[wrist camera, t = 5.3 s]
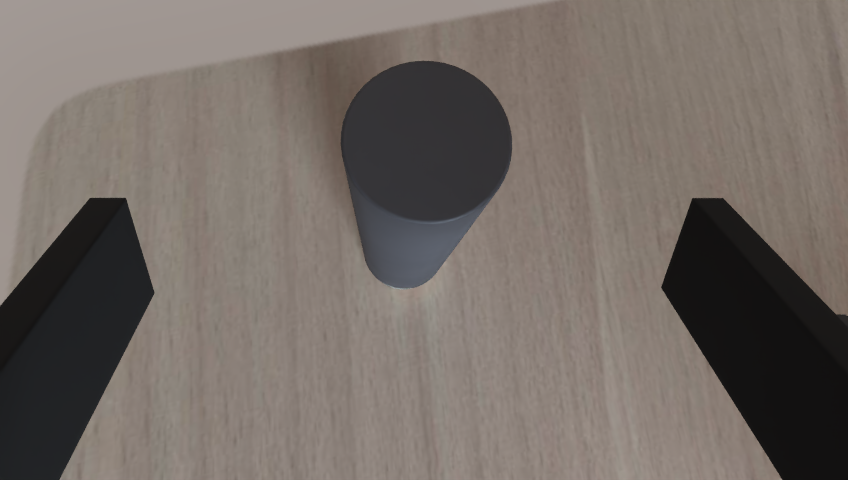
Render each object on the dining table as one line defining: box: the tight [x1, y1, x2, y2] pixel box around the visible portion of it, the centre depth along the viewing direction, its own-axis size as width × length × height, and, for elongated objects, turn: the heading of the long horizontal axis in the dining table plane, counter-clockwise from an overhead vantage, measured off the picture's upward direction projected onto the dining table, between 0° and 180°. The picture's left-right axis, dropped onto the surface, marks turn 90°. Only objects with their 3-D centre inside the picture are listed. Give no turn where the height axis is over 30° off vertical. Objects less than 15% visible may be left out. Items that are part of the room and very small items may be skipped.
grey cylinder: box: [341, 61, 512, 289], centre depth 15 cm, size 3×3×12 cm
